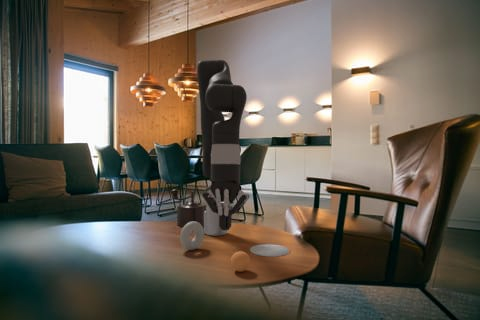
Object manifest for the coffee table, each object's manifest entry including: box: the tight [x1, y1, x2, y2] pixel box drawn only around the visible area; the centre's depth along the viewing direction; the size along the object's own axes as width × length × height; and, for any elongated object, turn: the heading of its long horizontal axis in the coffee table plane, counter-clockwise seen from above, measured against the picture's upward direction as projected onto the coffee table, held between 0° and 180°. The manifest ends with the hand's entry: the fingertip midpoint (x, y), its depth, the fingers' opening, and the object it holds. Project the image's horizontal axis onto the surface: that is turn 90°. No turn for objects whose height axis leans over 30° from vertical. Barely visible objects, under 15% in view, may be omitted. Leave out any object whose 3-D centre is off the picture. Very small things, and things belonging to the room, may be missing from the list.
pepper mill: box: [169, 188, 206, 228], centre depth 148 cm, size 16×11×18 cm
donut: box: [179, 221, 205, 251], centre depth 108 cm, size 10×4×10 cm, turn 139°
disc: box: [249, 243, 291, 257], centre depth 108 cm, size 14×14×1 cm
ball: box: [230, 250, 251, 273], centre depth 88 cm, size 6×6×6 cm
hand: (225, 229), depth 79 cm, fingers closed
